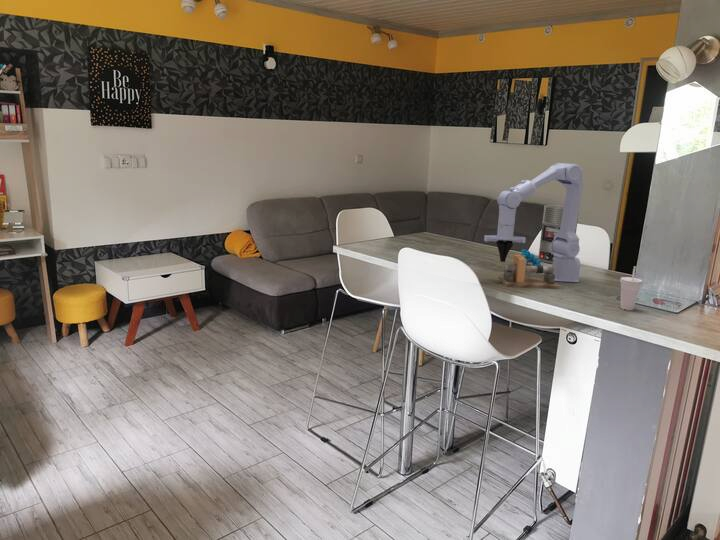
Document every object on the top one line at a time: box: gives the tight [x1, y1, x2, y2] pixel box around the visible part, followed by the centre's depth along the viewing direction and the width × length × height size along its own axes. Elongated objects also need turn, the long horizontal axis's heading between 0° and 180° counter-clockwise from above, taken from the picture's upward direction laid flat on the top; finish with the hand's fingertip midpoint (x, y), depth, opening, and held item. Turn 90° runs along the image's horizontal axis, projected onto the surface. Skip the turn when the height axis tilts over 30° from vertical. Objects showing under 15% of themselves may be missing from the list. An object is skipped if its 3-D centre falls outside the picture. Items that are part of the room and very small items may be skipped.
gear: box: [520, 248, 542, 266], centre depth 235 cm, size 11×6×10 cm
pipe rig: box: [498, 264, 560, 290], centre depth 205 cm, size 19×12×7 cm, turn 88°
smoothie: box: [619, 265, 643, 311], centre depth 176 cm, size 6×6×14 cm
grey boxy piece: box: [537, 204, 580, 265], centre depth 241 cm, size 14×6×25 cm, turn 37°
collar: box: [512, 254, 527, 283], centre depth 205 cm, size 2×9×9 cm, turn 178°
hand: (502, 261), depth 204 cm, fingers closed
